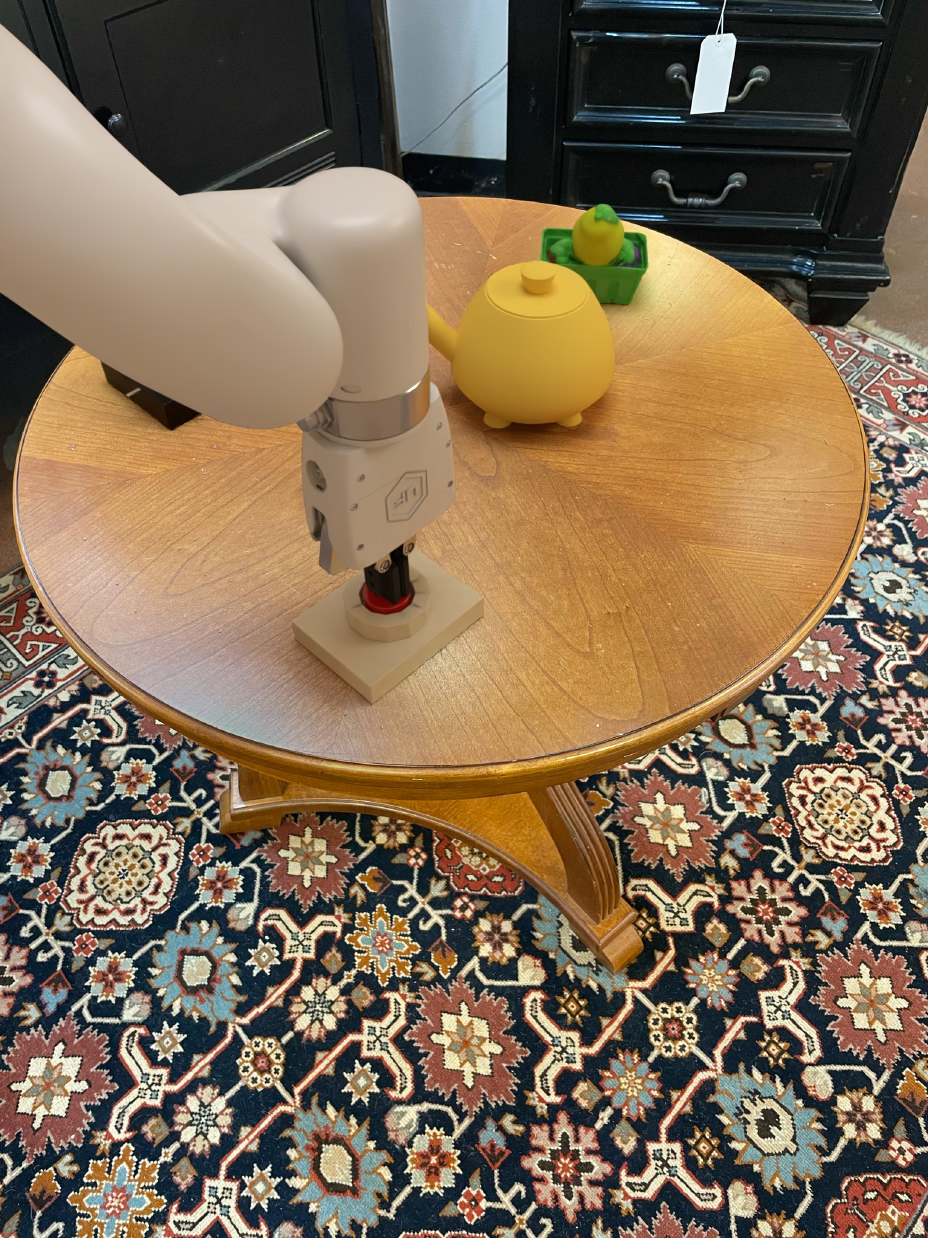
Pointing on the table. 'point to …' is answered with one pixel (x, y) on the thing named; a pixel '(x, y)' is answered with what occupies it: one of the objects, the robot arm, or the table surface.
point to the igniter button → (384, 603)
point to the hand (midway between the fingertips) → (388, 589)
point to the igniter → (388, 627)
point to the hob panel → (150, 399)
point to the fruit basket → (599, 254)
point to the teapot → (529, 346)
